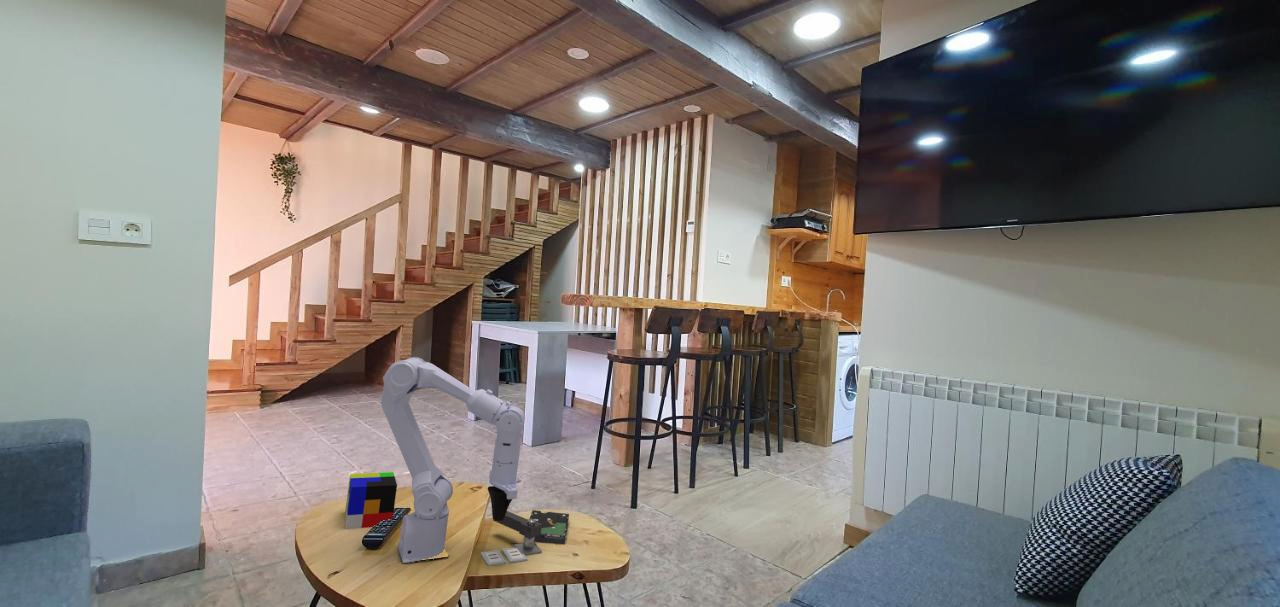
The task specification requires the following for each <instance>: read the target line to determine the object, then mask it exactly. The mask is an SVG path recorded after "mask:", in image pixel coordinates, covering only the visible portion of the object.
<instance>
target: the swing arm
mask: <svg viewBox="0 0 1280 607" xmlns="http://www.w3.org/2000/svg"><path fill="white" fill-rule="evenodd" d="M528 519H529V518H525V517H524V516H523V517H522V516H520V515H518V514H515V513H513V512H512V511H508V510H507V512H506V515H505V517H504V520H503V521H494V520H493V519H492V522H495V523H498V524H500V525H502V526H503V527H507V528H509V529H511V530H514V531H516V532H519V533H518V534H520V535H521V536H523V537H524V536H526V537H528V538H532V537H535V536H537V535H540V534H541V528H542V524H541V523H538V522H536V521H535V523H534V524H533V525H532V526H531V525H529V523H528Z"/></svg>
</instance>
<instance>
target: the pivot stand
mask: <svg viewBox="0 0 1280 607" xmlns="http://www.w3.org/2000/svg"><path fill="white" fill-rule="evenodd" d="M527 519H528V523H529V525H531V526H532V525H533V524H534V523H535V519H530V518H527ZM534 538H535V537H532V538H528V537H526V536H524V535H523V543H517V544H516V543H515V544H513V546H514V547H513V548H517V549H518V550H519V551H520V553H521V554H524V555H525V556H531V555H537V554H542V553H543V550H542V549H541V548H540V547H539V546H538V545H537V542H534Z"/></svg>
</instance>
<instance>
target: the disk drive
mask: <svg viewBox="0 0 1280 607" xmlns="http://www.w3.org/2000/svg"><path fill="white" fill-rule="evenodd" d="M569 517H570V514H569V513H566V512H565V513H563V512H553V511H547V512H542V511H541V510H536V509H535V510H534V509H533V510H531V513H530V517H529V519H535V521H536V522H538V523H541V524H542V528H541V534H540V535H537V536H535V538H534V542H535V543H539V544H540V543H542V544H554V545H563V546H564V545H565V543H566V537H567V531H568V526H567V525H569V519H570V518H569Z"/></svg>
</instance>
